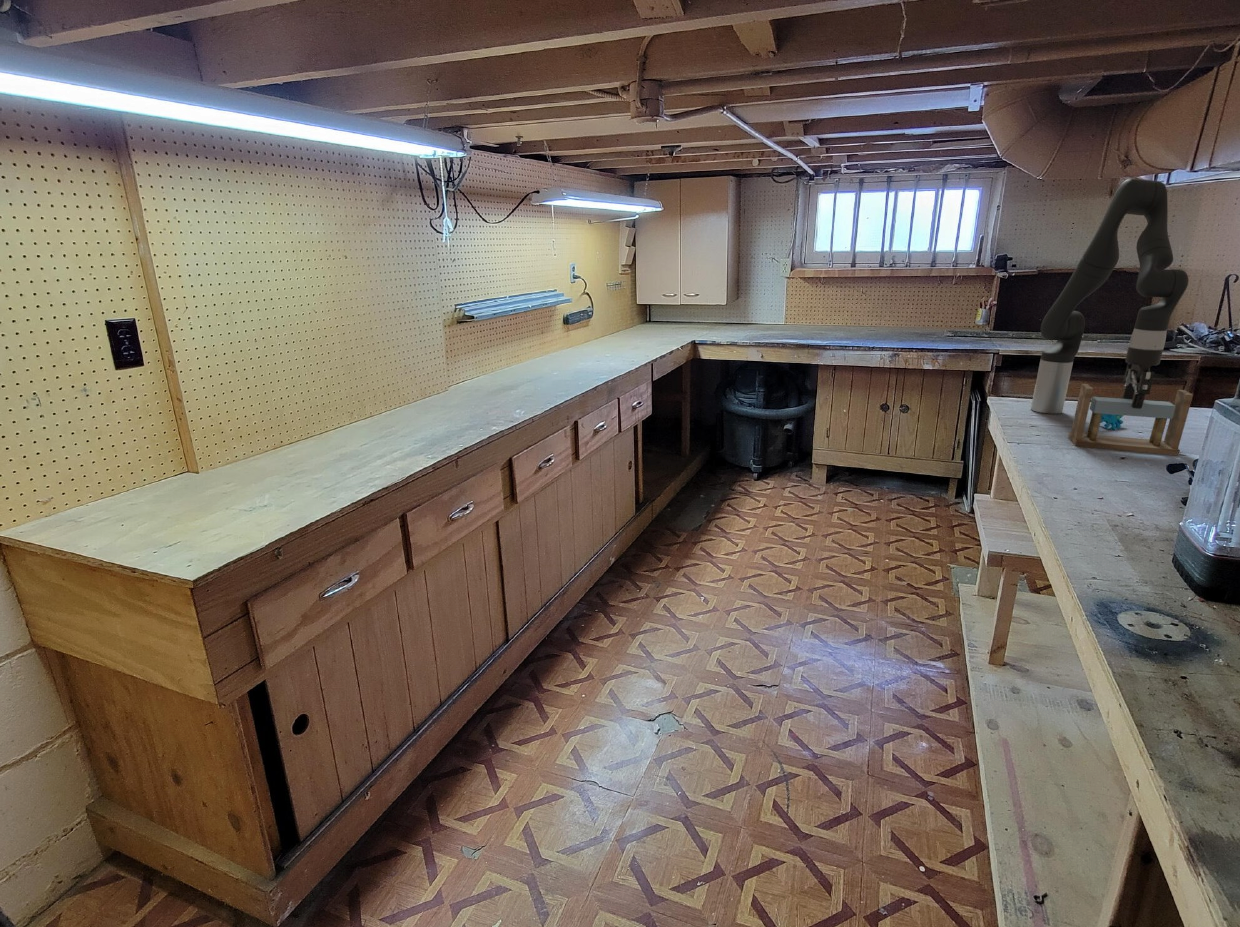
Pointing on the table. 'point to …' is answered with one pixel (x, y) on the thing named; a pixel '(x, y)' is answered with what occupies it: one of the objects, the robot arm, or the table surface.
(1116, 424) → the gear
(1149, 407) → the grey rectangular block
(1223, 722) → the table surface
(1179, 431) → the stand
